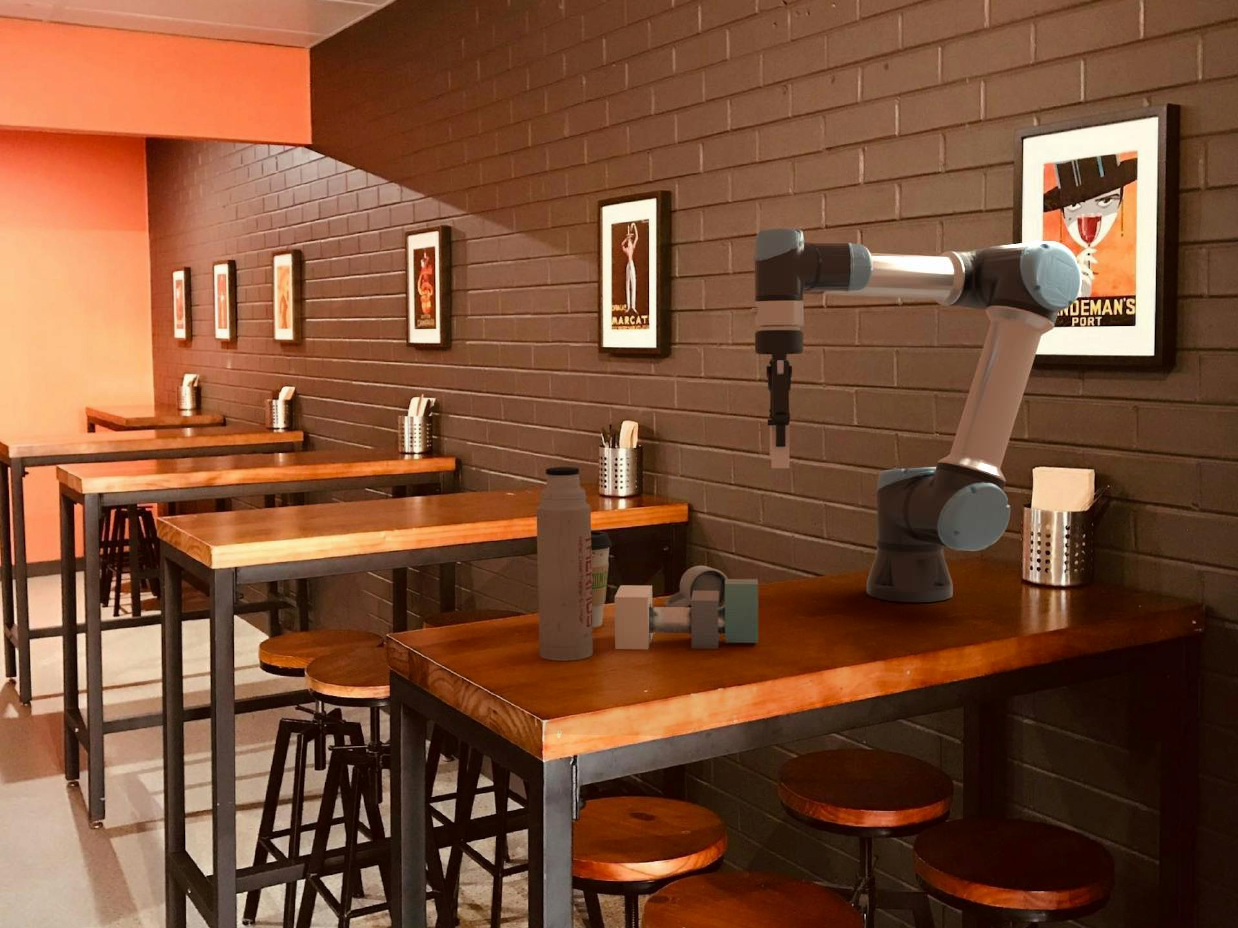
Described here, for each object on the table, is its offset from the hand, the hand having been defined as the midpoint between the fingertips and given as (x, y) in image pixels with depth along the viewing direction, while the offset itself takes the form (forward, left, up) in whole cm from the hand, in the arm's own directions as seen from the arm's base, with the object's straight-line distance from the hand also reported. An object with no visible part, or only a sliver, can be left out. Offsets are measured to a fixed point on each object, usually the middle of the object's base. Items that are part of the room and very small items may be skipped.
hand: (779, 463), depth 201 cm
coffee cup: (+32, -2, -27) cm, 42 cm away
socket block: (+23, +10, -27) cm, 36 cm away
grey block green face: (+13, +10, -26) cm, 31 cm away
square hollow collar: (+12, +10, -27) cm, 31 cm away
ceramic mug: (+14, -14, -27) cm, 33 cm away
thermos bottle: (+32, +18, -27) cm, 45 cm away
